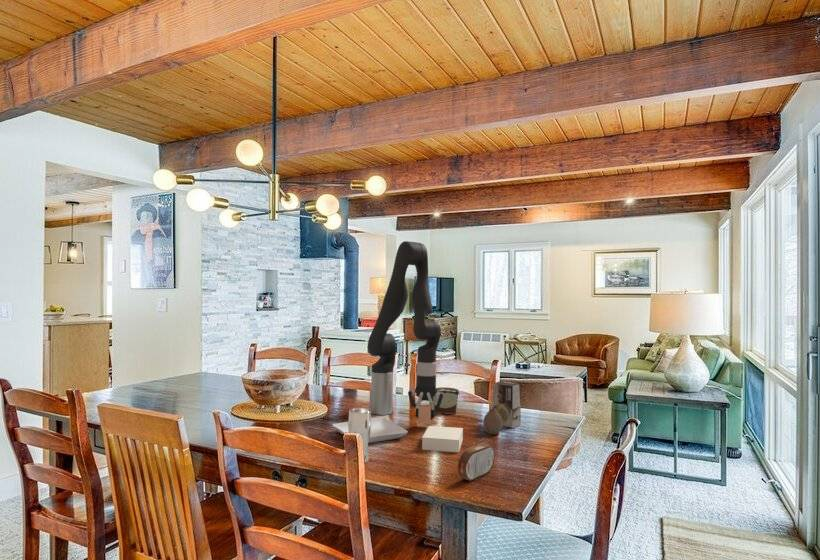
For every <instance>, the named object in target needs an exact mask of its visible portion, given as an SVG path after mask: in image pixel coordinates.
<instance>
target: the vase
mask: <svg viewBox="0 0 820 560" xmlns="http://www.w3.org/2000/svg"><path fill="white" fill-rule="evenodd" d="M482 424H483V429H484V431H485V432H486V433H487V434H489V435H498V434H499V433H500V432H501V431H502V429H503V426H502V418H501V416H500V415H499V413H498V412H497V410H496V409H495V408H493V407H491V408H489V410H488V411H487V413H486V414H485V415H484V417H483V423H482Z"/></svg>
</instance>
